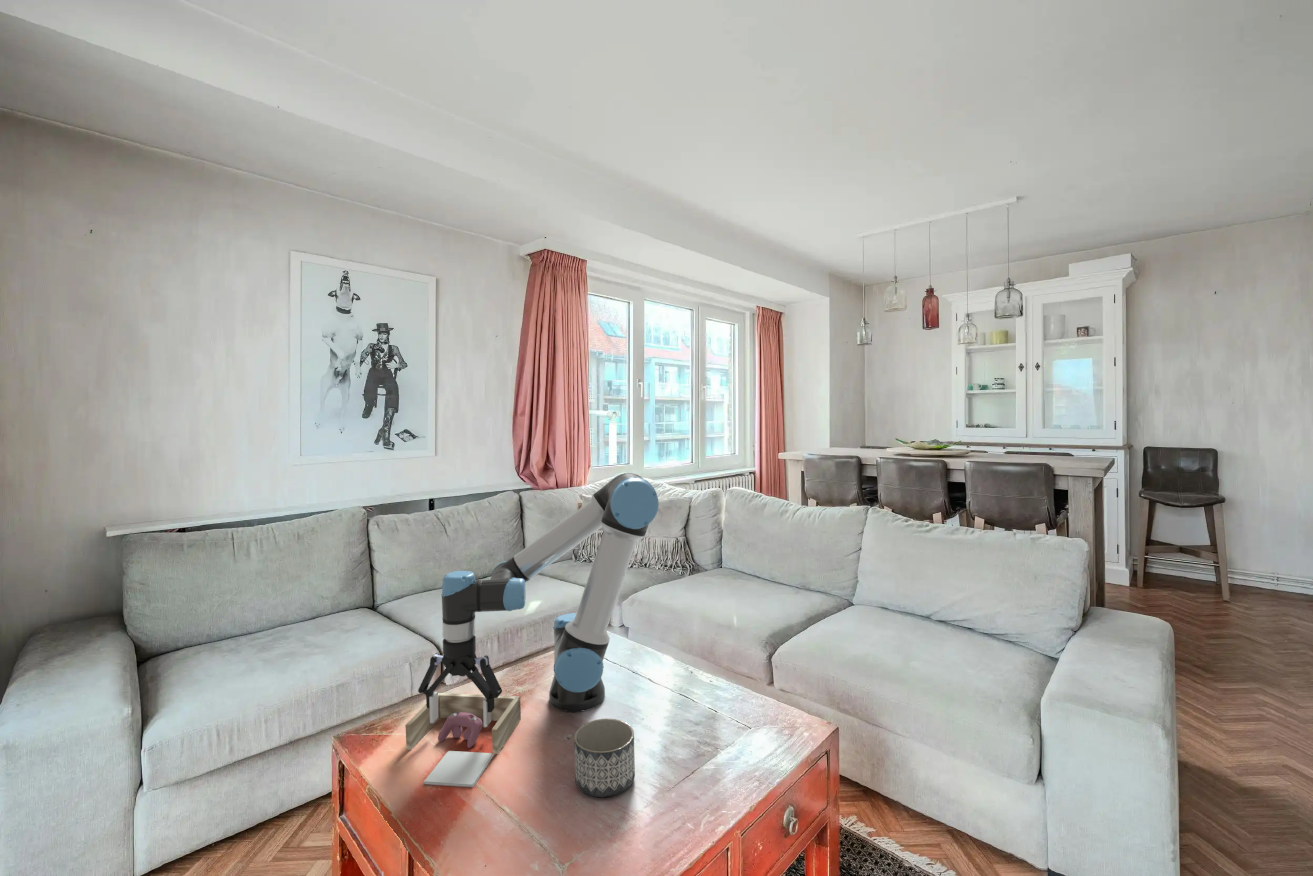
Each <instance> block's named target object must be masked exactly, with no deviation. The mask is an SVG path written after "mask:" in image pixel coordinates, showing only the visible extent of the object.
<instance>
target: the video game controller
mask: <svg viewBox="0 0 1313 876" xmlns="http://www.w3.org/2000/svg"><path fill="white" fill-rule="evenodd" d="M463 727H464V728H466V729H464V731H463ZM483 727H484V722H483V720H481V719H480V718H477V717H476V716H475V715H473V714H470V713H466V712H460V713H454V714H451V715H450V716H449V717H448V718H446V720H445V722H444V723H443V725H442V727H441V728H440V731H439V733H438V736H437V740H438V742H439V743H442V742H444V741H445V740H446V739H447V737H448V736H449V734H450V733H451V734H452V735H451V736H452V738H461V737H462V738H463V739H464V740H466V741H467V742H466V743H467V748H469V749H471V748H472V747H473V746H475V744H476V742H477V740H478V738H479V735H480V733H481V730H482V729H483Z"/></svg>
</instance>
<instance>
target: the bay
mask: <svg viewBox="0 0 1313 876" xmlns="http://www.w3.org/2000/svg"><path fill="white" fill-rule="evenodd" d="M484 699H485V696H484V695H483V694H473V693H472V694H471V693H450V692H449V693H448V692H438V718H437V719H436V721H435V722H434V723H430V708H427V706H426V704H424V705H423V707H421V709H420V710H419V711H418V712H417V713H415V714H414V716H413V717H412V718H410V720H408V721H407V722H406V724H405V746H406V747H405V748H406V749H405V750H409V751H410V750H411V751H412V750H413V749H414V747H415V746H416V745H417V744H418V743H419V742H420V741H421V740H422V739H423V738H424V736H425V735H426V734H427V733H428V732H429V731H430V730H431V729H432V728H433V727H434V726H435V725H436V723H437V722H438V721H439V720H440V719H447V718H448V717H449V716H450V715H451V714H454V713H460V712H466V713H470V714H473V715H475V716H476V717H477V718H480V719H481V720H482V721H484V720H483V700H484ZM521 710H522V709H521V696H518V695H515V696H514V695H499V696H498V698H494V710H493V711H492V712H491V721H494V722H495V721H496V723H495V725H493V727H492V728H491V742H492V743H491V746H492V748H491V749H492V753H494V754H498V753H499V754H500V752H501V750H502V749H503V747H504V746H505V744H506V743H507V741H508V740H509V738H510V736H511V735H512V733H513V732H514V731H515V729H516V728H517V726H518V724H519V723H520V721H521V719H522V717H521V713H522V712H521ZM507 739H508V740H507ZM503 745H504V746H503ZM501 748H502V749H501ZM499 751H500V752H499ZM499 754H498V755H499Z"/></svg>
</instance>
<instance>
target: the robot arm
mask: <svg viewBox="0 0 1313 876" xmlns="http://www.w3.org/2000/svg"><path fill="white" fill-rule="evenodd" d="M657 494H658V493H657V492H656V489H655V487H654V485H652V484H651V483H650V482H649V481H648V480H646V479H645V478H643V477H642V476H640V475H638V474H637V473H632V472H625V473H624V472H623V473H621V474H619V475H617V476H615V477H613V478H612V479H611V480H609V482H607V483H606V484H605V485H604V486H602V487H601V488H600V489H599V490H597V491H596V492H594V493H593V494H592V495H591V498H590V499H591V500H590V501H588V502H587V503H586V504H584V505H583V506H581V507H580V508H578V509H577V510H576V511H574V512H573V513H572V514H571V515H569V516H567V517H566V518H565V519H563V520H562V521H560V522H559V523H558V524H557V525H555V526H553V527H552V528H551V529H550V530H547V531H546V533H544V534H542V535H541V536H540V537H539V538H537V539H536V540H534V541H533V542H532V543H530V544H529V545H528V546H526V547H525V548H523V549H521V550H520V551H519V552H518V553H516V554H515V555H514V556H512V557H511V558H509V559H507V560H505V561H502V562H500V563H499V564H497V565H496V567H494V569H493V570H492V573H491V576H490V579H477V578H476V577H475V573H474V572H473V571H472V570H471V571H470V570H455V571H451V572H448V573H446V574H445V575H444V576H443V577H442V585H441V588H442V589H441V594H440V595H441V606H442V607H441V608H442V609H441V610H442V611H441V613H442V615H441V616H442V638H443V640H442V654H443V655H441V654H440V653H439V652H436V653H435V654H434V655H432V656H431V657H430V661H429V666H428V668H427V671H426V673H425V675H424V676H423V679H422V680H421V683H420V685H419V687H418V690H417V692H418V693H419V694H424V696H425V700H426V701H425V702H426V704H425V705H426V706H427V708H430V723H434V722H435V721H436V719H437V718H438V693H439V691H436V689H437V688H438V687H439V686H440V684H441V683H442V682H443V681H444V680H445V679H446V678H447V677H448V675H449V674H450V675H451V676H452V677H455V676H458V677H467V679H468V680H470V681H472V683H473V684H474V685H475V686H476V689H478V690H479V691H480V693H481V695H484V696H485V699H484V700H483V720H482V721H483V728H487V727H488V726H489V725H490V723H491V722H492V720H491V712H492V711H493V710H494V698H498V696H501V694H502V692H503V690H502V687H501V685H500V683H499V681H498V678H497V677H496V674H495V673H494V671H493V669H492V666H491V664H490V658H489V656H488V655H484V656H483V657H477V655H476V654H477V653H476V651H477V648H476V647H477V646H476V645H477V644H476V642H477V641H476V640H477V639H476V638H477V637H476V613H484V612H485V613H486V612H487V613H488V612H505V611H506V612H512V611H517V610H518V611H519V610H522V609H524V608H525V606H526V599H527V598H526V596H527V595H526V593H527V592H526V591H527V590H526V587H527V586H526V584H527V582H529V581H530V580H531V579H532V578H533V577H535V576H537V575H538V574H539V573H541V572H542V571H543V570H545V569H546V568H547V567H549V566H550V565H552V564H553V563H554V562H556V561H557V560H558V559H560V558H561V557H563V556H564V555H565V554H567V553H568V552H570V551H571V550H572V549H574V548H575V547H577V546H578V545H579V544H581V543H582V542H583V541H585V540H587V538H589V537H591V536H592V535H593V534H594V533H597V531H599V530H600V529H601V528H603V530H604V531H603V533H602V536H601V539H600V542H599V545H598V548H597V551H596V555H595V557H594V559H593V563H592V565H591V567H590V568H591V569H590V572H589V575H588V577H587V579H586V583H585V586H584V590H583V591H582V595H581V598H580V602H579V603H578V607H577V609H576V612H572V613H571V612H570V613H564V614H561V615H559V616H557V617H555V619H554V621H553V627H552V628H553V645H554V646H553V647H554V650H553V651H554V653H553V655H554V656H553V657H554V658H553V660H554V661H553V662H554V663H553V673H554V674H553V675H554V676H553V679H552V682H551V686H550V689H549V692H548V693H549V694H548V695H549V696H548V698H549V701H548V702H549V703H550V706H552V708H554V709H556V710H558V711H561V712H567V713H568V712H569V713H577V712H584V711H589V710H591V709H594V708H596V707H597V706H599V705H601V704H602V703H603V701H604V700H605V698H606V693H605V692H606V688H605V684H604V682H603V679H602V676H603V673H604V667H605V666H604V658H605V656H606V652H607V649H608V646H609V643H610V636H609V634H608V632H607V631H608V628H609V623H610V621H611V619H612V615H613V613H614V610H615V607H616V604H617V600H618V598H619V594H620V592H621V589H622V585H623V583H624V580H625V577H626V574H627V571H628V569H629V565H630V562H631V559H632V557H633V553H634V551H635V548H636V544H637V542H638V541H639V540H641V539H644V538H645V536H646V533H647V531H648V528H649V525H650V524H651V523H652V522H653V521H654V520H655V518H656V516H657V514H658V511H659V505H660V504H659V497H658V495H657ZM441 663H442V665H443V666H444V668H445V669H444V670H443V671H442V672H441V673H440V675H439V676H438V677H437V678H436V680H435V681H434V682H433V683H432V684H431V681H432V679H433V676H434V674H435V673H436V672H437V669H438V666H439V665H440V664H441ZM476 664H477V665H478V667H477V666H476ZM479 668H480V670H479ZM479 671H481V673H482V674H481V673H480V672H479ZM430 684H431V685H430ZM429 685H430V686H429Z"/></svg>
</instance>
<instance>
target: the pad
mask: <svg viewBox="0 0 1313 876" xmlns="http://www.w3.org/2000/svg"><path fill="white" fill-rule="evenodd" d="M493 756H494V757H495V755H494V753H493V752H478V751H474V752H473V751H459V750H458V751H457V750H456V751H455V750H448V751H447V752H446V753H445V754H444V756H443V757H442V758H441V759H440V761H439V762H438V763H437V764H436V766H435V767H434V768H433V769H432V771H431V772H430V773H429V774H428V775H427V777H426V778H425V779H424V780H423V784H424V785H433V786H446V787H447V786H448V787H461V788H462V787H463V788H465V787H467V788H474V787H475V786H476V784H477V782H478V781H479V779H480V778H481V776H482V775H483V773H484V772H483V771H486V769H487V767H488V766H489V764H490V763H489V762H491V761H492V760H491V759H493V758H494V757H493ZM492 757H493V758H492ZM490 760H491V761H490ZM488 763H489V764H488ZM487 765H488V766H487ZM485 768H486V769H485Z"/></svg>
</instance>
